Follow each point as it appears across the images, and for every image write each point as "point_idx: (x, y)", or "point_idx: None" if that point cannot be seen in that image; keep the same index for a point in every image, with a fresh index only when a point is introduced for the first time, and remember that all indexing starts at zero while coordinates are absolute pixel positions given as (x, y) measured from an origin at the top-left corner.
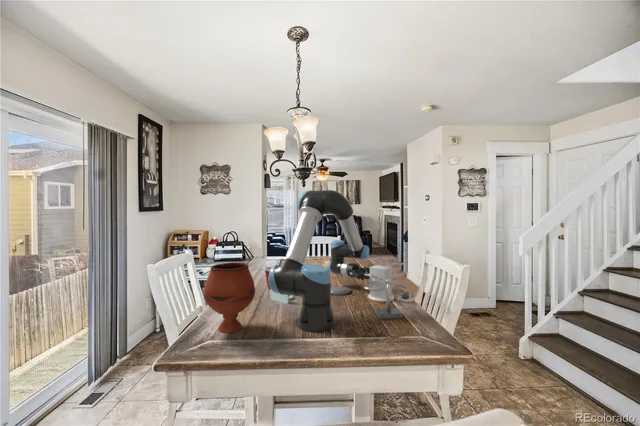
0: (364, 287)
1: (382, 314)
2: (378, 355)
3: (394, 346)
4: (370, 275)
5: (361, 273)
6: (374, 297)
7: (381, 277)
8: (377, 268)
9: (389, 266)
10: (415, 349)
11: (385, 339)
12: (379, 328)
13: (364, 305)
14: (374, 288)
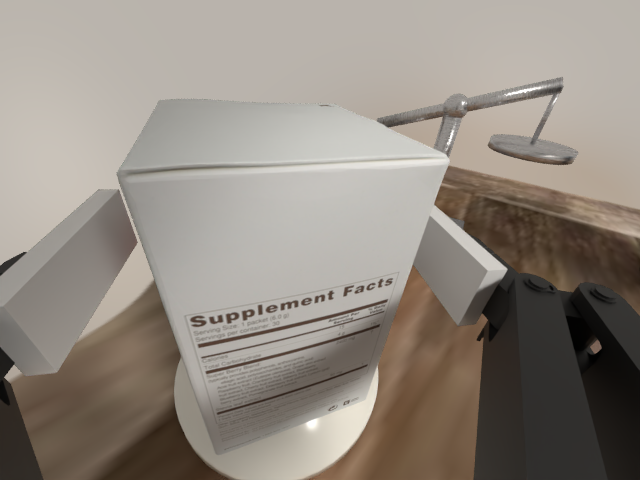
0: (573, 149)
1: (454, 219)
2: (524, 183)
3: (484, 182)
4: (441, 218)
5: (552, 316)
6: None
7: (499, 91)
8: (378, 122)
9: (185, 102)
10: (452, 171)
11: (491, 193)
12: (485, 213)
13: (463, 339)
14: (524, 137)
